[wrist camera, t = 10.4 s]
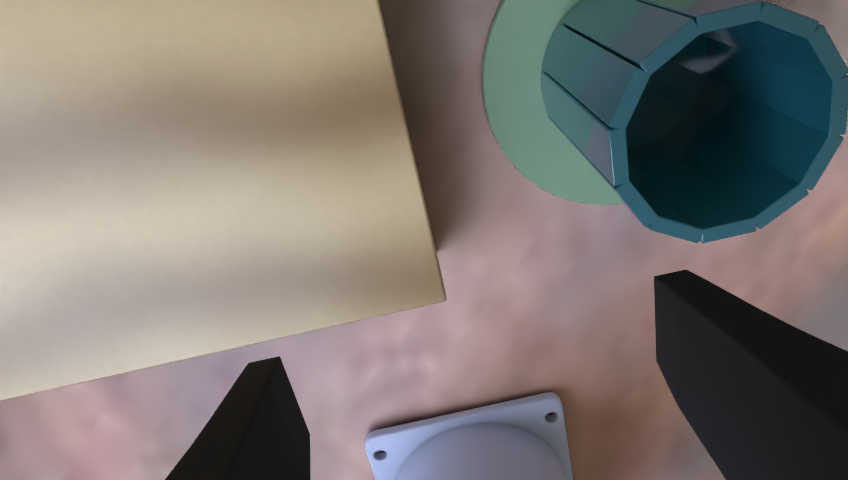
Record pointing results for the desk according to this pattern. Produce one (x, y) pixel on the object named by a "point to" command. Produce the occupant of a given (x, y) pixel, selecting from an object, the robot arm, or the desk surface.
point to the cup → (698, 107)
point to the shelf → (198, 181)
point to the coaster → (532, 102)
